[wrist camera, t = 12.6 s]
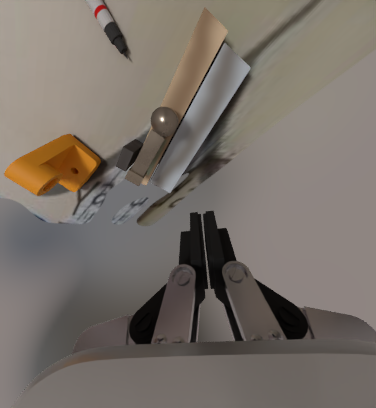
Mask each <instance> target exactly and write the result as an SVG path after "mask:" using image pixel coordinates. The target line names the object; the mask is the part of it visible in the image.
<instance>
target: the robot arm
mask: <svg viewBox="0 0 376 408" xmlns="http://www.w3.org/2000/svg"><path fill="white" fill-rule="evenodd" d="M203 220H204V231H205V243H206V252H207V260H208V269H209V278H210V286H211V289H214V291H215V294H216V297H217V298H218V299H219V300H220V301H221V302H222V305H223V308H224V312H225V315H226V318H227V321H228V325H229V328H230V331H231V334H232V338H233V341H226V342H197V340H198V328H199V315H200V304H201V302H202V301H203V300H204V298H205V289H208V282H207V272H206V260H205V250H204V240H203V231H202V222H201V214H198V213H197V212H195V213H190V231H186V232H181V239H180V240H181V241H180V254H179V255H180V256H179V265H178V266H176V267H175V268H174V269H173V270H172V271H171V273H170V275H169V279H168V282H167V284H166V285H164V286H163V287H162V288H161V289H160V290H159V291H158V292H157V293H156V294H155V295H154V296H153V297H152V298H151V299H150V300H149V301H148V302H146V304H144V305H143V306H142V307H141V308H140V309H139V310H138V311H137V312H136V313H135V314H134V315H131V316H129V315H126V316H122V317H119V318H116V319H113V320H110V321H106V322H103V323H100V324H97V325H94V326H91V327H89V328H87V329H86V330H85V331H84V332H83V333H82V334H81V335H80V336H79V338H78V339H77V342H76V343H75V346H74V349H73V352H72V355H70V356H68V357H65V358H63V359H62V360H60V361H58V362H56V363H55V364H53V365H51V366H50V367H48V368H47V369H45V370H44V371H43V372H42V373H40V374H39V375H38V376H37V377H36V378H35V379H33V380H32V381H31V383H30V384H29V385H28V386H27V387H26V388H25V389H24V391H23V392H22V393H21V394H20V396H19V397H18V399H17V400H16V401H15V402H14V404H13V405H12V407H11V408H376V331H375V330H374V329H373V328H372V327H371V326H369V325H368V324H367V323H366V322H364V321H363V320H361V319H359V318H357V317H354V316H351V315H347V314H341V313H336V312H331V311H326V310H320V309H315V308H310V307H304V308H299V307H297V306H295V305H294V304H293V303H291V302H290V301H288V300H287V299H285V298H283V297H282V296H280V295H279V294H277V293H276V292H274V291H273V290H271V289H270V288H268V287H267V286H265V285H263V284H262V283H260V282H259V281H257V280H256V279H254V278H253V276H252V274H251V272H250V271H249V269H248V267H247V266H246V265H244V264H243V263H241V262H238V261H236V257H235V255H234V251H233V247H232V244H231V241H230V238H229V234H228V231H227V229H226V228H222V229H217V225H216V220H215V216H214V212H213V211H206V214H203Z"/></svg>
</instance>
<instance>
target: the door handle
mask: <svg viewBox="0 0 376 408" xmlns="http://www.w3.org/2000/svg"><path fill="white" fill-rule="evenodd" d="M151 125H152V128H153V129H151V131H150V133H149V135H148V137H147V139H146V141H145V143H144V145H143V147H142V149H141V151H140V153H139V155H138V157H137V159H136V161H135V163H134V165H133V166H132V167H131V168H130V169H129V171H128V173H127V175H126V177H125V179H127V180H128V181H130V182H132V183H134V184H136V185H137V186H139V185H140V183H141V182H142V181H143V179H144V177H145V175H146V174H147V172H148V171H147V170H148V168H149V166H150V164H151V163H152V161H153V159H154V157H155V156H156V154H157V152H158V150H159V149H160V147H161V145H162V143H163V141H164V140H165V138H166V137H167V136H170V135H172V134H173V133H174V132H175V130H176V129H177V126H178V116H177V114H176V112H175V111H174V110H173V109H172V108H170V107H159V108H157V109H156V110H155V111H154V112H153V114H152V116H151Z"/></svg>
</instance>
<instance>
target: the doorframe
mask: <svg viewBox="0 0 376 408" xmlns="http://www.w3.org/2000/svg"><path fill="white" fill-rule="evenodd" d="M227 32H228V30H227V29H226V28H225V27H224V26H223V25H222V24H221V23H220V22H219V21H218V20H217V19H216V18H215V17H214V16H213V15H212V14H211V13H210V12H209V11H208V10H207V9H206V8H204V10H203V12H202V14H201V17H200V19H199V21H198V23H197V26H196V28H195V30H194V32H193V34H192V37H191V39H190V41H189V43H188V46H187V48H186V50H185V52H184V55H183V57H182V59H181V61H180V64H179V66H178V68H177V70H176V73H175V75H174V77H173V79H172V82H171V84H170V86H169V88H168V91H167V93H166V95H165V97H164V100H163V102H162V104H161V106H160V107H170V108H172V109H173V110H174V111H175V112H176V114H177V116H178V125H179V123H180V121H181V119H182V117H183V115H184V114H185V112H186V110H187V108H188V106H189V104H190V102H191V100H192V99H193V97H194V95H195V93H196V91H197V89H198V87H199V85H200V83H201V82H202V80H203V78H204V76H205V74H206V72H207V70H208V68H209V66H210V65H211V63H212V61H213V59H214V57H215V55H216V53H217V51H218V50H219V48H220V46H221V44H222V42H223V40H224V38H225V36H226V34H227ZM250 69H251V68H250V67H249V66H248V65H247V64H246V63H245V62H244V61H243V60H242V59H241V58H240V57H239V56H238V55H237V54H236V53H235V52H234V51H233V50H232V49H231V48H230V47H229V46H228V45H227V44H226V43H224V45H223V46H222V48H221V50H220V52H219V54H218V56H217V57H216V59H215V61H214V63H213V65H212V67H211V69H210V70H209V72H208V74H207V76H206V78H205V80H204V82H203V84H202V85H201V87H200V89H199V91H198V93H197V95H196V97H195V98H194V100H193V102H192V104H191V106H190V108H189V110H188V111H187V113H186V115H185V117H184V119H183V121H182V123H181V125H180V126H179V128H178V130H177V132H176V134H175V136H174V138H173V139H172V141H171V143H170V145H169V147H168V149H167V151H166V152H165V154H164V156H163V158H162V160H161V162H160V164H159V166H158V167H157V169H156V171H155V173H154V175H153V177H152V179H151V181H150V183H152V184H154V185H156V186H158V187H160V188H162V189H163V190H165V191H167V192H169V193H170V192H171V191H172V189H173V188H174V186H175V185H176V183H177V181H178V180H179V178H180V177H181V175H182V174H183V172H184V171H185V169H186V168H187V166H188V165H189V163H190V162H191V160H192V158H193V157H194V155H195V154H196V152H197V151H198V149H199V148H200V146H201V144H202V143H203V141H204V140H205V138H206V137H207V135H208V134H209V132H210V131H211V129H212V127H213V126H214V124H215V123H216V121H217V120H218V118H219V117H220V115H221V114H222V112H223V110H224V109H225V107H226V106H227V104H228V103H229V101H230V100H231V98H232V97H233V95H234V93H235V92H236V90H237V89H238V87H239V86H240V84H241V83H242V81H243V80H244V78H245V76H246V75H247V73H248V72H249V70H250ZM177 127H178V126H177ZM151 129H153V128H152V126H151ZM151 129H150V131H151ZM150 131H149V133H150ZM175 131H176V130H175ZM149 133H148V135H149ZM173 134H174V133H173ZM173 134H172V135H170V136H167V137H166V138H165V140H164V141H163V143H162V145H161V147H160V149H159V150H158V152H157V154H156V156H155V157H154V159H153V161H152V163H151V164H150V166H149V168H148V170H147V171H148V172H147V174H146V175H145V177H144V179H143V181H142V182H141V183H142V184H144V185H147V183H148V181H149V180H150V178H151V176H152V174H153V172H154V170H155V168H156V166H157V164H158V163H159V161H160V159H161V157H162V155H163V153H164V151H165V149H166V148H167V146H168V144H169V142H170V140H171V138H172V136H173ZM148 135H147V137H148ZM146 139H147V138H146ZM145 141H146V140H145ZM144 143H145V142H144ZM143 145H144V144H143V143H141V142H140V141H138V140H136V139H135V140H133V141H132V142H130V143H129V144H127V145H125V146H124V147H123V149H122V152H121V154H120V157H119V160H118V162H117V165H116V167H118V168H120V169H122V170H124V171H126V170H127V169H128V168H129V167H130V166H131V165H132V164H133V163H134V162H135V161H136V159H137V157H138V155H139V153H140V151H141V149H142V147H143Z"/></svg>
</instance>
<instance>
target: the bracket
mask: <svg viewBox="0 0 376 408" xmlns="http://www.w3.org/2000/svg"><path fill="white" fill-rule="evenodd" d="M100 163H101V160H100V158H99V157H98V156H97V155H95V154H94V153H93V152H92V151H90V150H89V149H88V148H87V147H86V146H84V145H83V144H82V143H81V142H79V141H78V140H77V139H76V138H75V137H73V136H72V135H71V134H67V135H63V136H61V137H59V138H57V139H55V140H53V141H51V142H49V143H47V144H45V145H44V146H42V147H40V148H38V149H36V150H34V151H32V152H30V153H28V154H26V155H24V156H22V157H20V158H18V159H17V160H15V161H14V162H13V163H12V164H10V165H9V167H8V168H7V169H6V171H5V174H4V175H5V177H7V178H9V179H10V180H12V181H14V182H15V183H17V184H19V185H20V186H22V187H24V188H25V189H27V190H29V191H30V192H32V193H34V194H35V195H37V196H40V195H43V194H44V193H46V192H48V191H49V190H50V189H52V188H53V187H54V186H55V185H56V184H57V183H60V184H61V185H63V186H64V187H66V188H67V189H69V190H70V191H72V192H76V191H77V190H78V189H80V188H81V187H82V186H83V185H84V183H86V182H87V180H88V179H89V178H90V177H91V175H92V174H93V173H94V172H95V170H96V169H97V168H98V166H99V164H100Z"/></svg>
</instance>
